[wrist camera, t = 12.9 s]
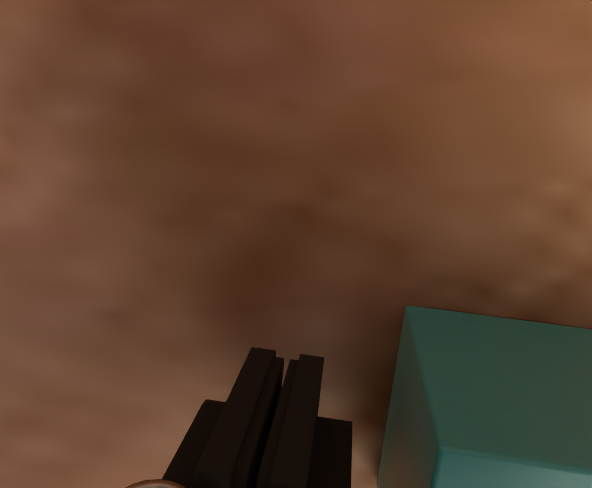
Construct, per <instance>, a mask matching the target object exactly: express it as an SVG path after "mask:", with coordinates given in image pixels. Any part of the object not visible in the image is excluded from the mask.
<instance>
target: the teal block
mask: <svg viewBox="0 0 592 488" xmlns="http://www.w3.org/2000/svg"><path fill="white" fill-rule="evenodd" d="M377 488H592V329H586V328H578V327H571V326H563V325H555V324H548V323H540V322H532V321H525V320H517V319H509V318H502V317H494V316H486V315H479V314H471V313H463V312H456V311H448V310H440V309H433V308H425V307H417V306H409V305H408V306H406V308H405V313H404V319H403V325H402V331H401V337H400V343H399V350H398V356H397V362H396V368H395V374H394V380H393V387H392V393H391V399H390V405H389V411H388V417H387V424H386V430H385V436H384V442H383V448H382V454H381V461H380V467H379V473H378V479H377Z"/></svg>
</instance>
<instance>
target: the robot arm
mask: <svg viewBox="0 0 592 488" xmlns="http://www.w3.org/2000/svg"><path fill="white" fill-rule="evenodd" d="M323 364H324V357H318V356H311V355H304V354H300V358H299V360H294V359H290V361H289V365H288V369H287V372H286V376H285V379H284V383H283V386H282V378H283V367H284V358H280V357H276V350H269V349H262V348H255V347H252V348H251V349H250V351H249V353H248V356H247V358H246V360H245V362H244V364H243V366H242V369H241V371H240V373H239V375H238V377H237V379H236V382H235V384H234V386H233V388H232V390H231V392H230V395H229V397H228V399H227V401H226V402H221V401H214V400H208V399H207V400H205V401H204V403H203V404H202V406H201V408H200V409H199V411H198V413H197V415H196V417H195V419H194V420H193V422H192V424H191V426H190V428H189V430H188V432H187V433H186V435H185V437H184V439H183V441H182V443H181V445H180V446H179V448H178V450H177V452H176V454H175V456H174V458H173V459H172V461H171V463H170V465H169V467H168V469H167V471H166V472H165V474H164V476H163V478H162V479H155V480H145V481H141V482H138V483H134V484H132V485H130V486H128V487H126V488H351V462H352V422H350V421H344V420H337V419H331V418H324V417H318V407H319V398H320V390H321V381H322V373H323ZM281 389H282V390H281Z"/></svg>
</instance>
